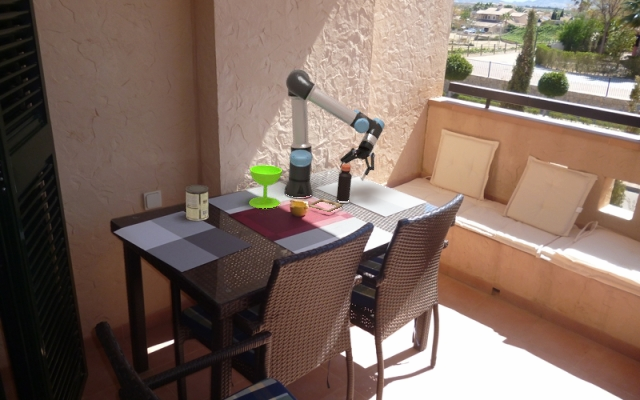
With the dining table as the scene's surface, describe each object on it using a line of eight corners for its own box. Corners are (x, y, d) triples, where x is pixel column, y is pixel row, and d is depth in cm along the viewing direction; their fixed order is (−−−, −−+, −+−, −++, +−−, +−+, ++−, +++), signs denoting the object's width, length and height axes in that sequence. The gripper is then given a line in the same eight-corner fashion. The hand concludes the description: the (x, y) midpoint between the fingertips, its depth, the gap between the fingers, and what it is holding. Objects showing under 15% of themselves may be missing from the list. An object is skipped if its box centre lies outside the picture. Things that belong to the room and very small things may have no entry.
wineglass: (278, 210, 254) (280, 175, 248) (246, 207, 254) (247, 173, 248) (281, 199, 269) (283, 166, 263) (251, 197, 269) (252, 164, 263)
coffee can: (190, 211, 244) (189, 183, 239) (211, 214, 243) (211, 185, 238) (182, 219, 234) (182, 190, 229) (204, 222, 233) (204, 192, 229)
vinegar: (334, 200, 274) (337, 164, 268) (346, 199, 277) (349, 163, 270) (339, 204, 269) (342, 167, 262) (351, 203, 271) (354, 167, 264)
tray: (307, 209, 258) (307, 204, 258) (321, 202, 269) (321, 198, 268) (328, 215, 252) (329, 211, 251) (342, 209, 262) (342, 204, 262)
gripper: (389, 152, 274) (373, 185, 267) (350, 143, 286) (333, 174, 280) (386, 144, 268) (369, 178, 261) (345, 135, 280) (328, 167, 274)
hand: (350, 176), depth 270 cm, fingers open, 13 cm apart
